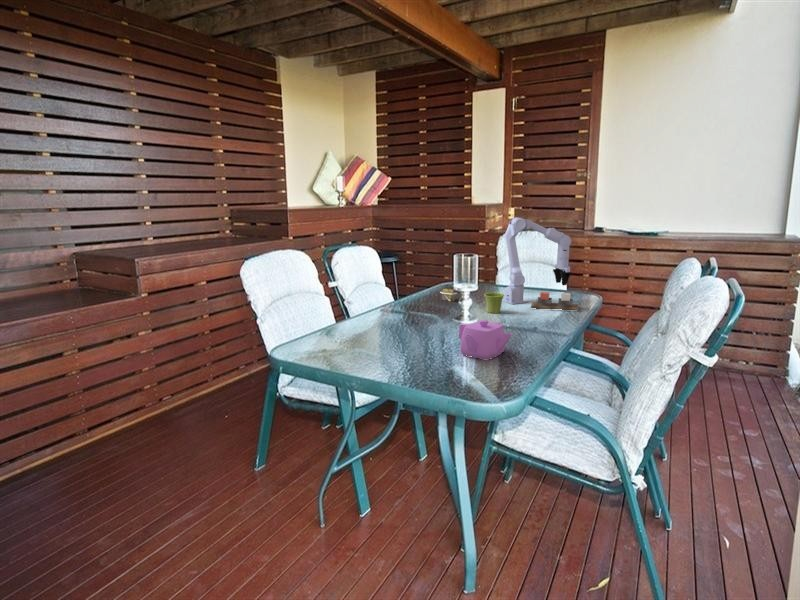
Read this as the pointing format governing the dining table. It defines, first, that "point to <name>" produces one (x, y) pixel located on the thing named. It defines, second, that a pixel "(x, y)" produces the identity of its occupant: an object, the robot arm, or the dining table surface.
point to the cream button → (565, 296)
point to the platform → (448, 295)
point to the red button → (544, 295)
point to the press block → (554, 304)
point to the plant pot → (493, 302)
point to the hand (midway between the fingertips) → (561, 283)
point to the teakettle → (483, 339)
